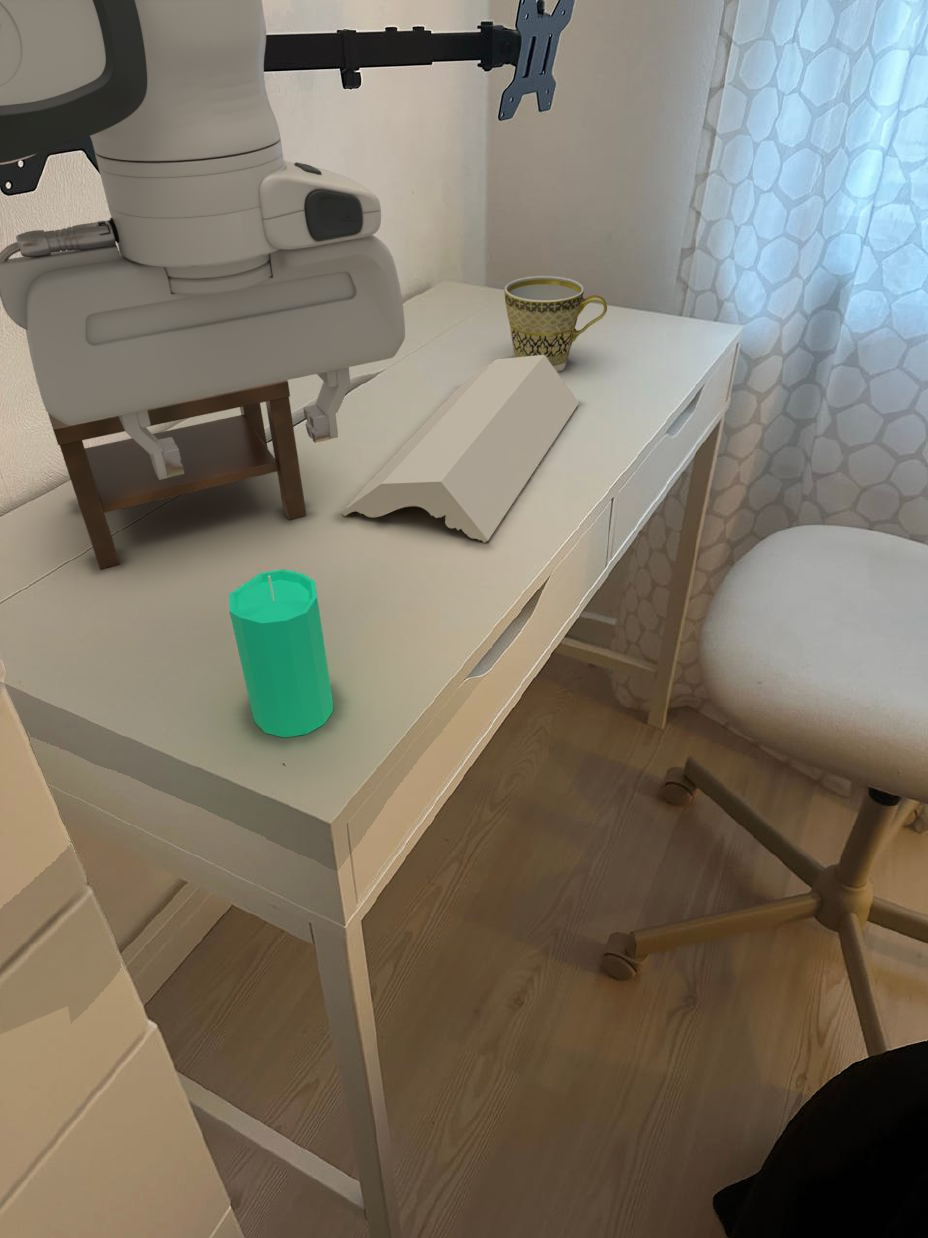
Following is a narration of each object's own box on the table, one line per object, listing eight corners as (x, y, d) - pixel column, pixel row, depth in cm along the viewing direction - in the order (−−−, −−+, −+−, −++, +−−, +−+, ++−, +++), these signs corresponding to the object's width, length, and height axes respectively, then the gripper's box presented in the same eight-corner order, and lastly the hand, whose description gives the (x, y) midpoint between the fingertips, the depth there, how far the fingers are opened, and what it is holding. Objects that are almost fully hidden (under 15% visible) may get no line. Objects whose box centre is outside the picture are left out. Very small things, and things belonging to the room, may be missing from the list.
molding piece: (508, 448, 115) (460, 385, 112) (579, 402, 107) (529, 334, 105) (406, 587, 91) (341, 512, 88) (488, 540, 83) (420, 456, 81)
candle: (319, 673, 70) (298, 542, 62) (345, 721, 65) (327, 587, 58) (243, 697, 68) (213, 565, 60) (265, 748, 63) (236, 613, 56)
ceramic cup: (496, 376, 115) (496, 298, 109) (511, 348, 123) (512, 273, 117) (597, 384, 112) (603, 304, 106) (606, 355, 120) (612, 278, 114)
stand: (99, 570, 81) (53, 429, 73) (77, 502, 91) (34, 370, 83) (307, 516, 88) (288, 380, 80) (266, 458, 98) (245, 332, 90)
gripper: (-16, 254, 39) (75, 523, 48) (408, 194, 46) (422, 437, 55) (-24, 222, 44) (60, 473, 52) (363, 172, 51) (382, 400, 59)
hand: (248, 454), depth 54 cm, fingers open, 8 cm apart
